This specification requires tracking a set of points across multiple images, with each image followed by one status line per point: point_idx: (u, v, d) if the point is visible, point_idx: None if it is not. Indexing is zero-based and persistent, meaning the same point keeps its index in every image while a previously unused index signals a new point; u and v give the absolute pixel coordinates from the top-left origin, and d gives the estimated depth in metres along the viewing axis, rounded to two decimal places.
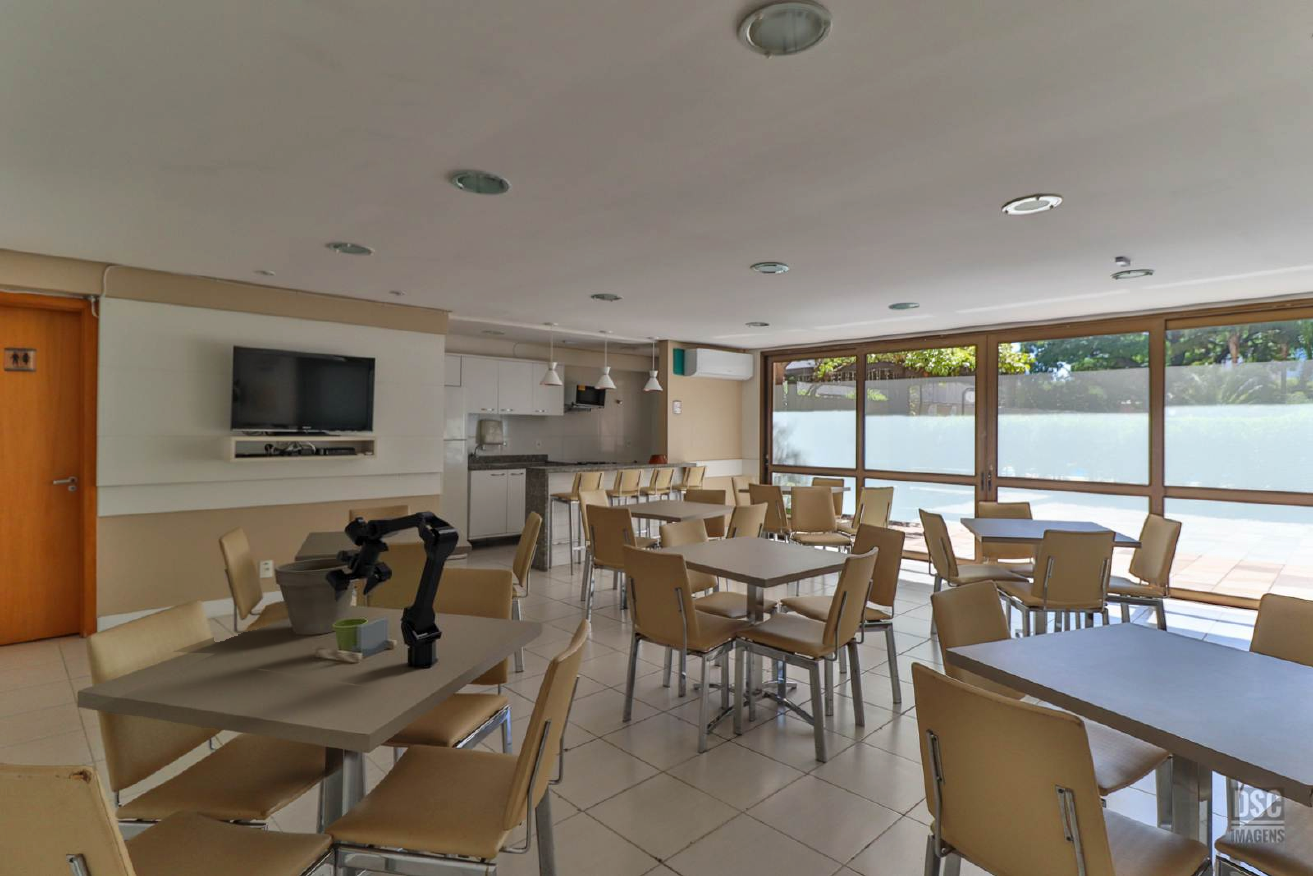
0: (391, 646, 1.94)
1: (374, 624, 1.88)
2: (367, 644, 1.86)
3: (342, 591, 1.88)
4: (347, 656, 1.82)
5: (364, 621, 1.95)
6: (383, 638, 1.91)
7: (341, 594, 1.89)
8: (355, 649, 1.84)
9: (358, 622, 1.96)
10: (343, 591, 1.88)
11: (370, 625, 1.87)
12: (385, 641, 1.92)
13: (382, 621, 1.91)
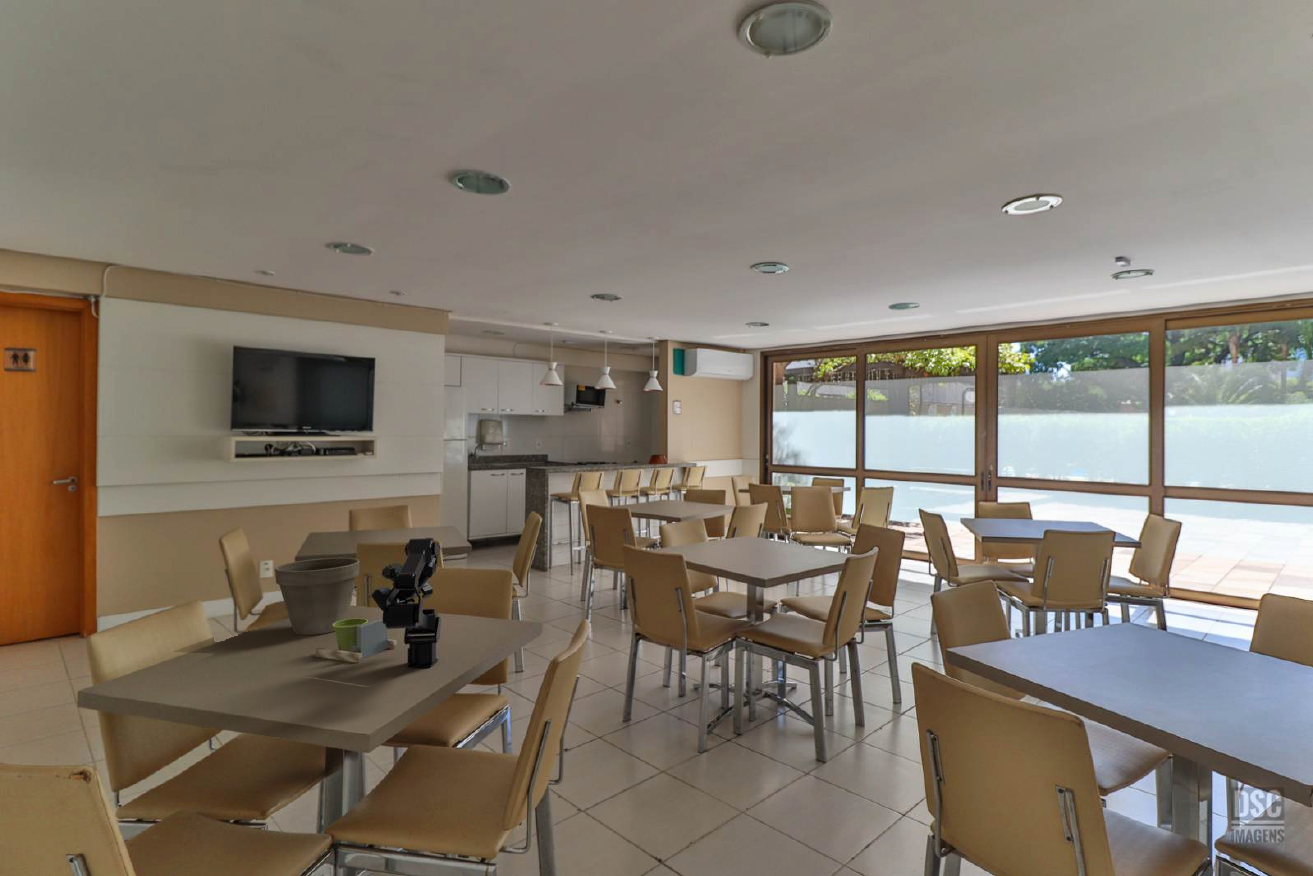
0: (391, 646, 1.94)
1: (374, 624, 1.88)
2: (367, 644, 1.86)
3: None
4: (347, 656, 1.82)
5: (364, 621, 1.95)
6: (383, 638, 1.91)
7: None
8: (355, 649, 1.84)
9: (358, 622, 1.96)
10: None
11: (370, 625, 1.87)
12: (385, 641, 1.92)
13: (382, 621, 1.91)
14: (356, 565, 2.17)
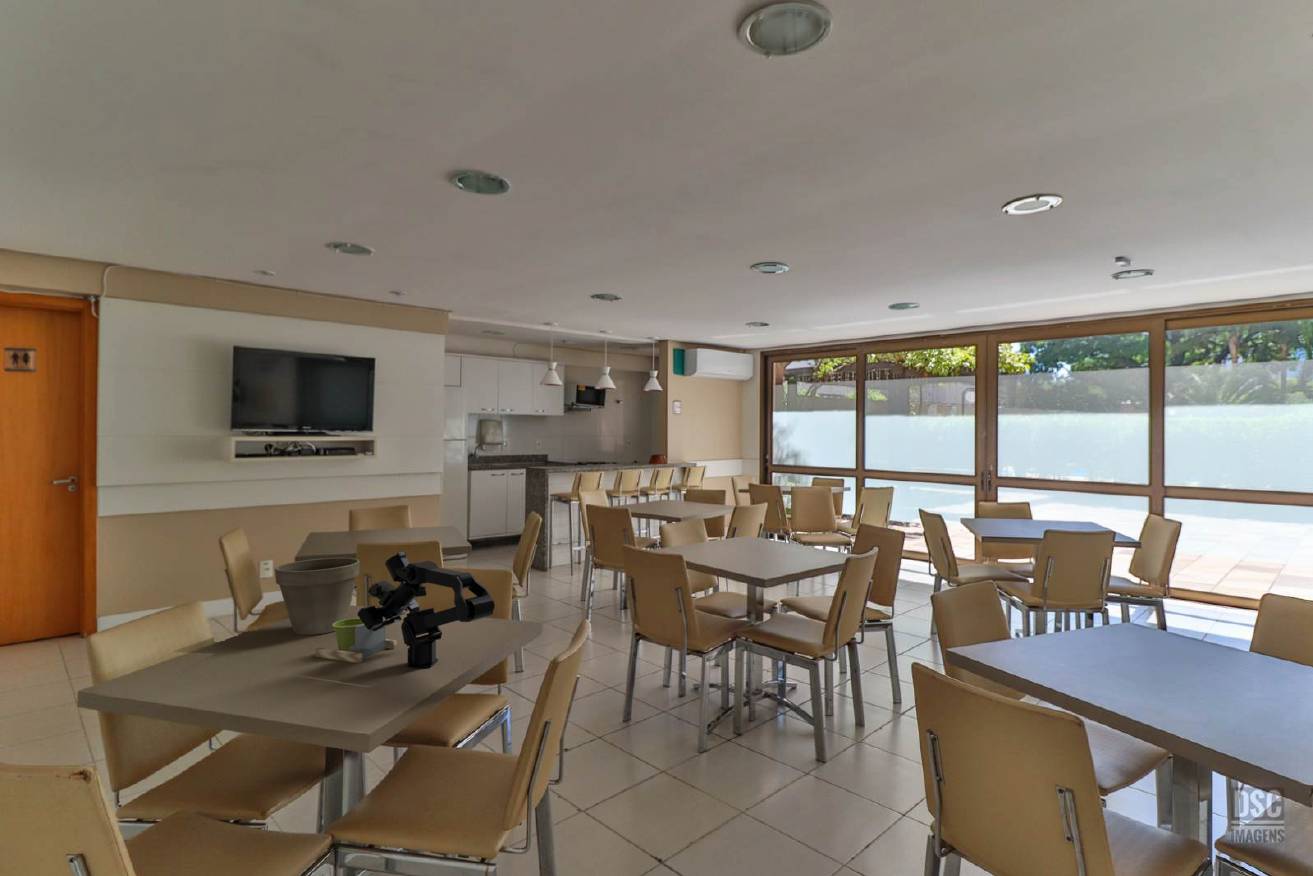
0: (391, 646, 1.94)
1: None
2: (365, 644, 1.86)
3: (385, 625, 1.84)
4: (347, 656, 1.82)
5: None
6: (381, 638, 1.92)
7: (382, 627, 1.86)
8: (353, 649, 1.84)
9: (358, 622, 1.96)
10: (385, 625, 1.85)
11: None
12: (383, 640, 1.92)
13: None
14: (356, 565, 2.17)
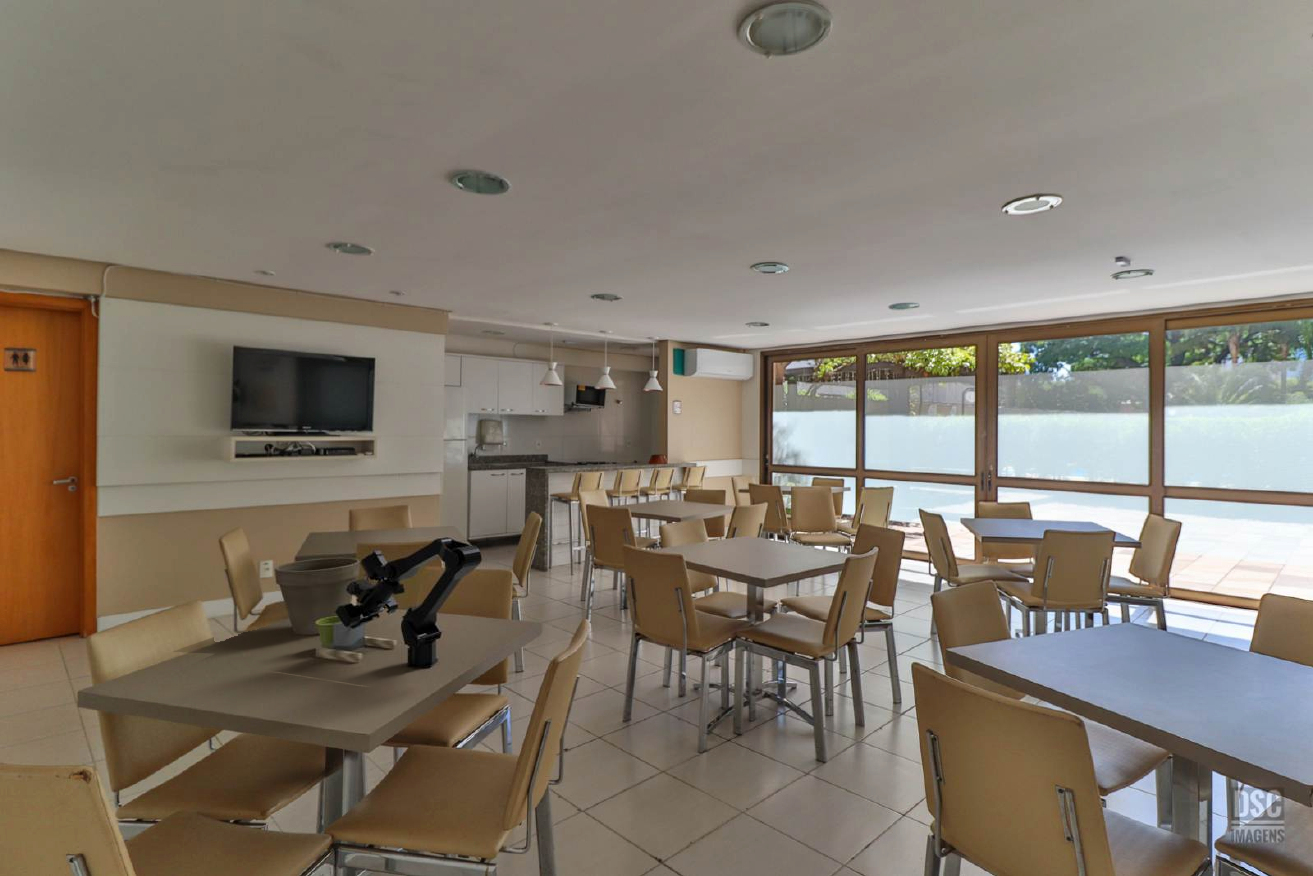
0: (391, 646, 1.94)
1: None
2: (344, 641, 1.89)
3: (363, 623, 1.87)
4: (347, 656, 1.82)
5: None
6: (360, 635, 1.95)
7: (360, 624, 1.89)
8: (332, 646, 1.87)
9: None
10: (364, 622, 1.88)
11: None
12: (362, 638, 1.95)
13: None
14: (356, 565, 2.17)
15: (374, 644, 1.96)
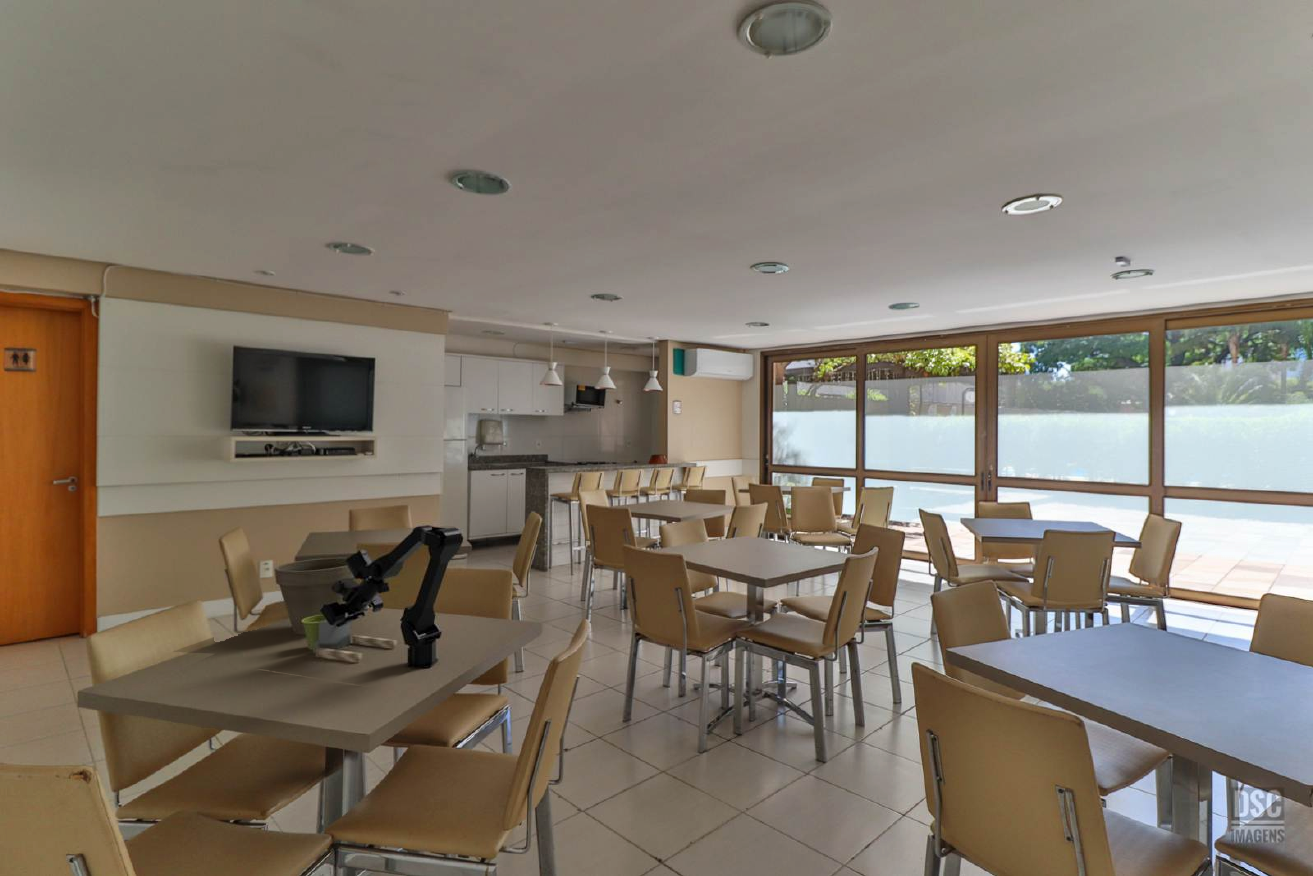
0: (391, 646, 1.94)
1: None
2: (329, 639, 1.91)
3: (348, 621, 1.89)
4: (347, 656, 1.82)
5: None
6: (346, 633, 1.97)
7: (345, 623, 1.91)
8: (317, 644, 1.89)
9: None
10: (349, 621, 1.90)
11: None
12: (348, 636, 1.97)
13: None
14: None
15: (374, 644, 1.96)
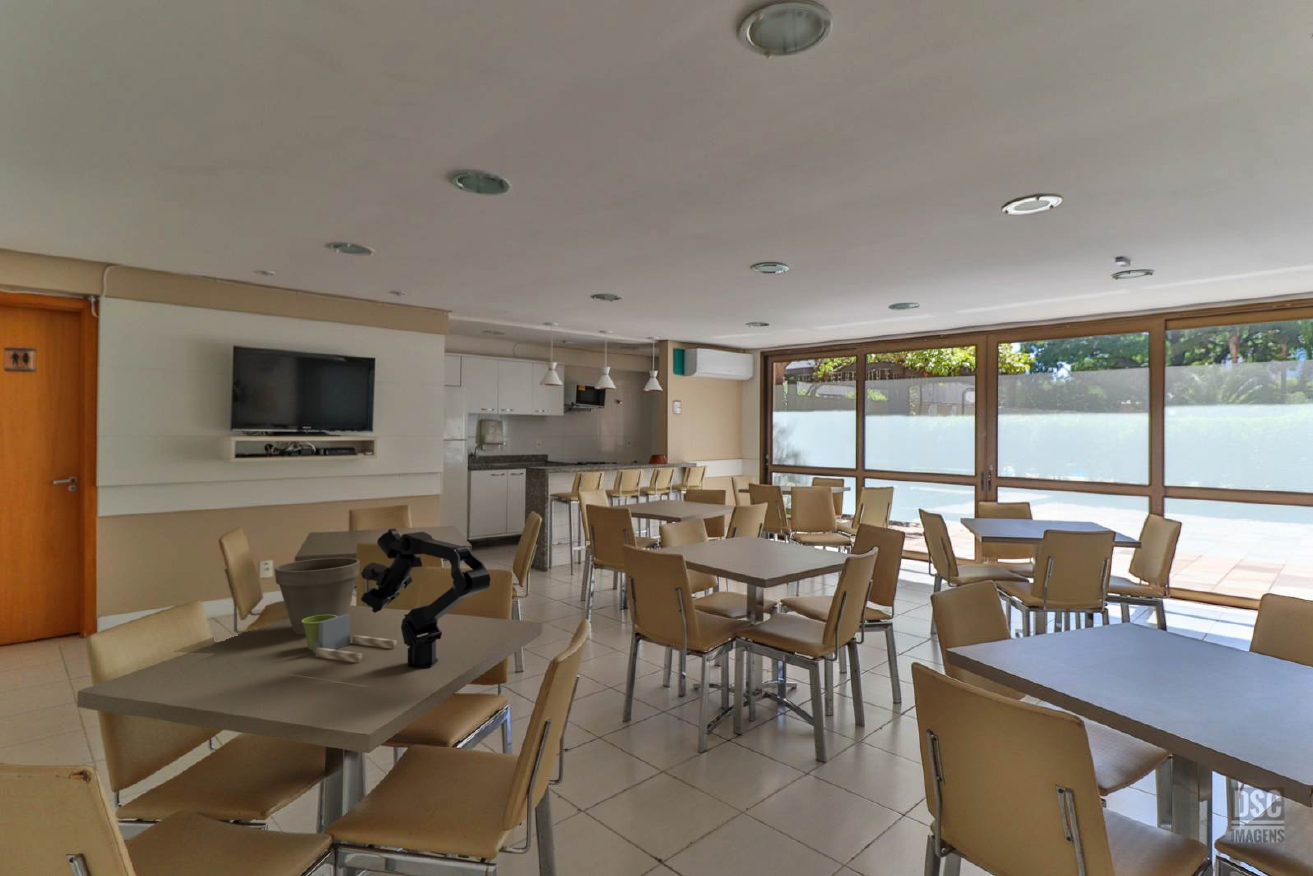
0: (391, 646, 1.94)
1: (336, 620, 1.93)
2: (329, 639, 1.91)
3: (388, 603, 1.85)
4: (347, 656, 1.82)
5: None
6: (346, 633, 1.97)
7: None
8: (317, 644, 1.89)
9: (328, 618, 2.00)
10: None
11: (332, 621, 1.92)
12: (348, 636, 1.97)
13: (345, 617, 1.96)
14: (356, 565, 2.17)
15: (374, 644, 1.96)
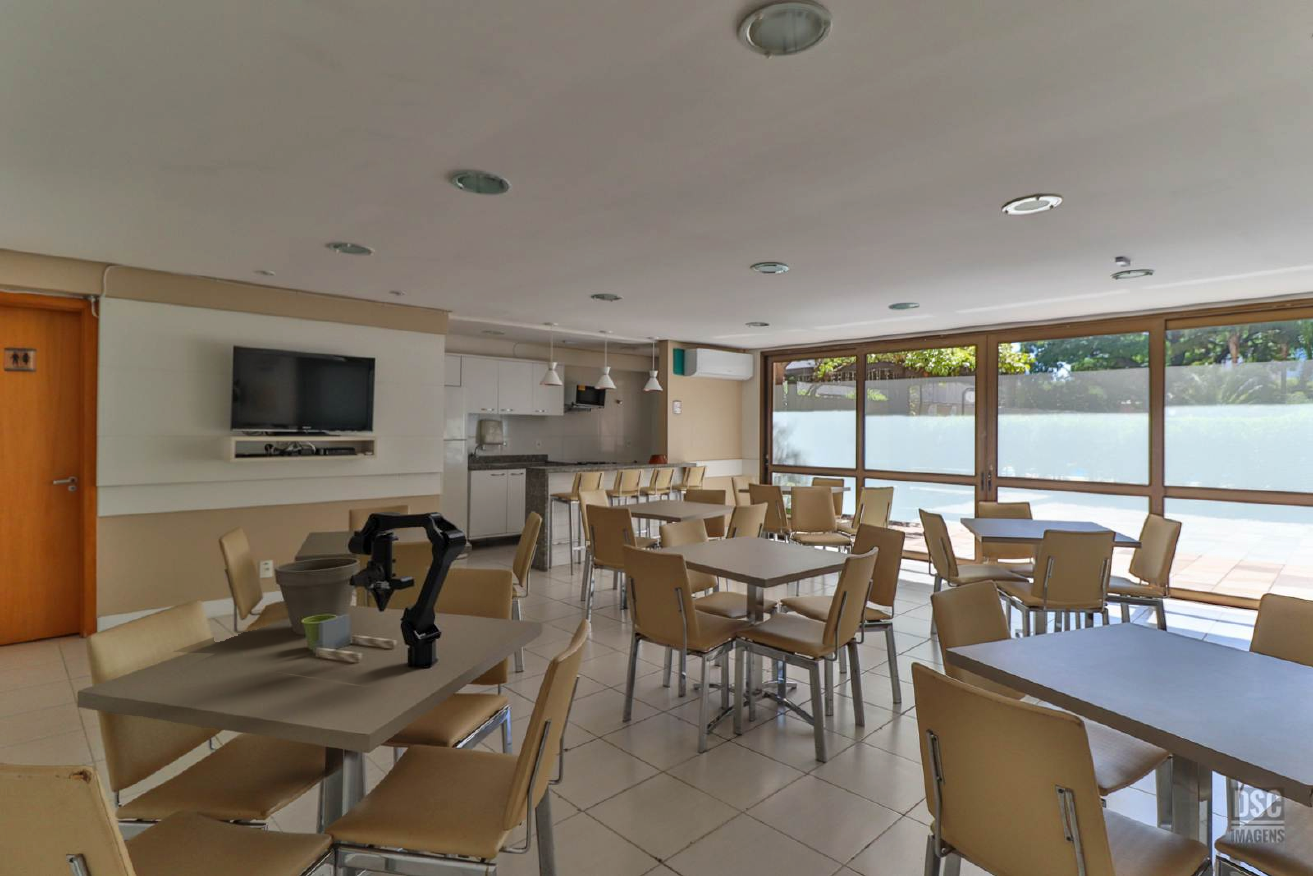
0: (391, 646, 1.94)
1: (336, 620, 1.93)
2: (329, 639, 1.91)
3: None
4: (347, 656, 1.82)
5: None
6: (346, 633, 1.97)
7: None
8: (317, 644, 1.89)
9: (328, 618, 2.00)
10: None
11: (332, 621, 1.92)
12: (348, 636, 1.97)
13: (345, 617, 1.96)
14: (356, 565, 2.17)
15: (374, 644, 1.96)
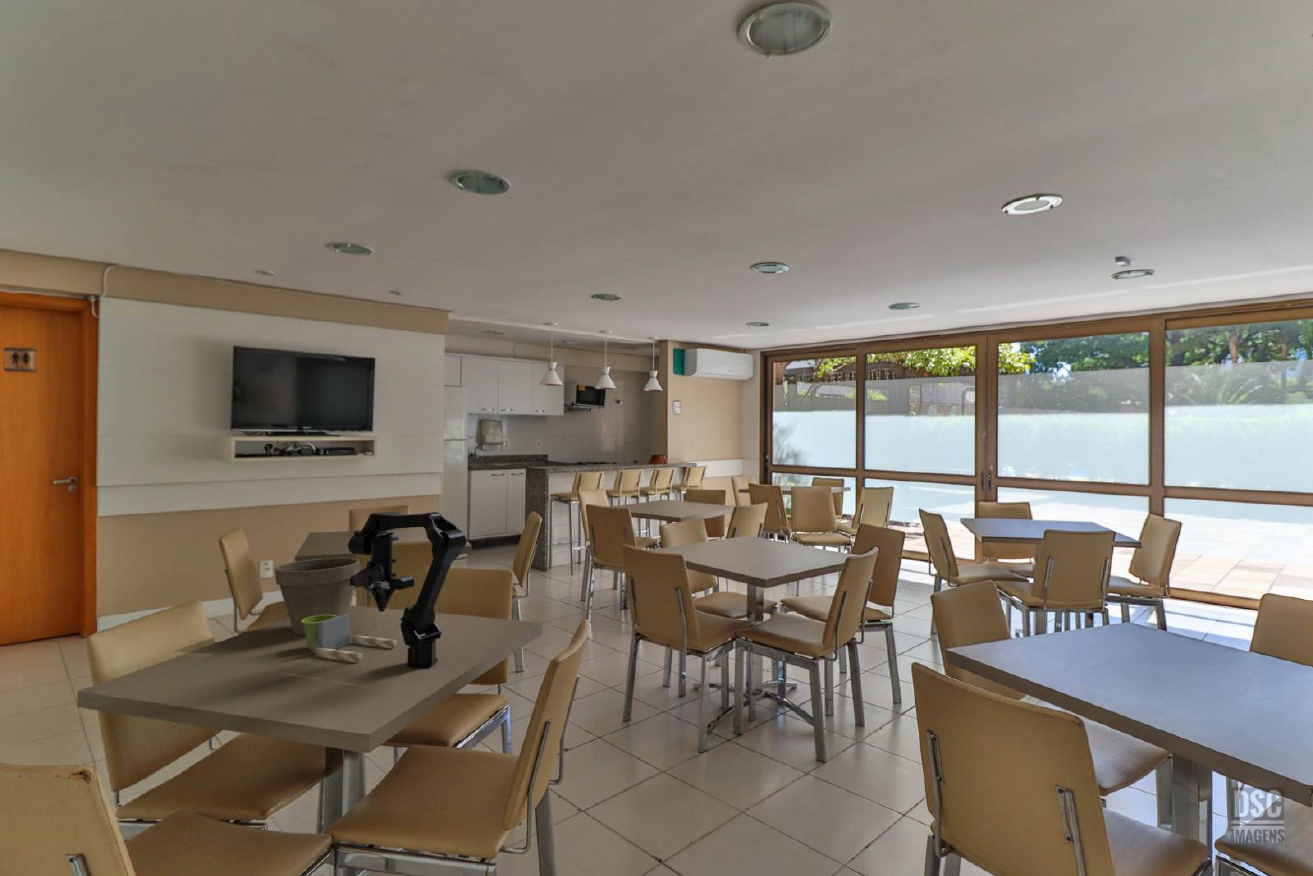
0: (391, 646, 1.94)
1: (336, 620, 1.93)
2: (329, 639, 1.91)
3: None
4: (347, 656, 1.82)
5: None
6: (346, 633, 1.97)
7: None
8: (317, 644, 1.89)
9: (328, 618, 2.00)
10: None
11: (332, 621, 1.92)
12: (348, 636, 1.97)
13: (345, 617, 1.96)
14: (356, 565, 2.17)
15: (374, 644, 1.96)
